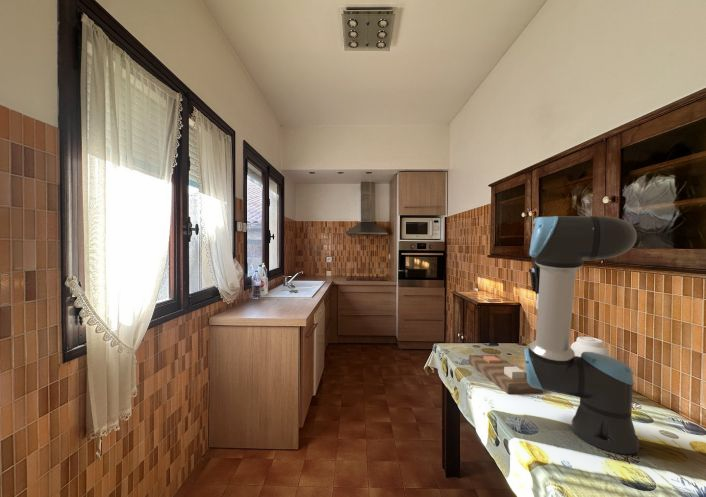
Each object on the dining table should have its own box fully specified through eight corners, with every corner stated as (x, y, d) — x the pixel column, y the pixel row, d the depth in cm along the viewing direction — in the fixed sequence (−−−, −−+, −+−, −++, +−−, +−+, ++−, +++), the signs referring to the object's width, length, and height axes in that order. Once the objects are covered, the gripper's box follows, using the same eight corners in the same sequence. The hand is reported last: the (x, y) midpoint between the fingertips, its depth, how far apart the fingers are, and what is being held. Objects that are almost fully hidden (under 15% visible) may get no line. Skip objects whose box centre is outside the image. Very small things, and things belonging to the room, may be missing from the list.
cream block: (524, 383, 121) (524, 371, 121) (511, 383, 120) (512, 371, 120) (515, 377, 126) (516, 366, 126) (503, 377, 125) (504, 366, 125)
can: (564, 380, 130) (566, 332, 130) (599, 385, 126) (601, 336, 126) (575, 393, 118) (577, 341, 118) (615, 399, 114) (617, 345, 114)
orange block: (500, 370, 137) (500, 360, 137) (489, 370, 136) (489, 360, 136) (493, 365, 142) (493, 356, 142) (482, 366, 141) (483, 356, 141)
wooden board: (542, 393, 117) (542, 382, 117) (508, 394, 115) (508, 383, 115) (496, 363, 147) (497, 355, 147) (468, 363, 145) (469, 355, 145)
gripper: (562, 254, 124) (560, 312, 125) (539, 253, 137) (537, 306, 138) (545, 253, 124) (543, 312, 124) (523, 253, 137) (521, 306, 137)
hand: (540, 309), depth 131 cm, fingers closed
